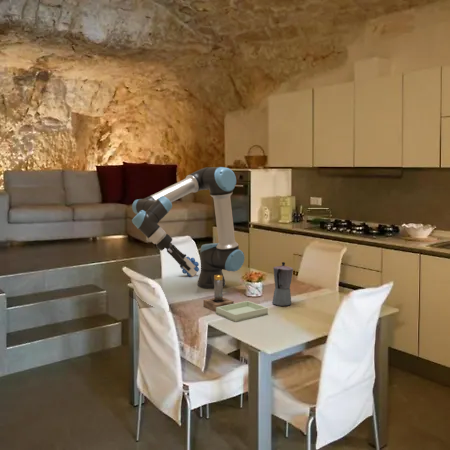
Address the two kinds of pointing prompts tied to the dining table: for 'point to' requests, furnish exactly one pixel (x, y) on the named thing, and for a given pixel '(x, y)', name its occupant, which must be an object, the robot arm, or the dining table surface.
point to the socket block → (212, 305)
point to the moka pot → (282, 285)
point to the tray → (241, 311)
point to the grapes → (194, 268)
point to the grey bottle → (218, 288)
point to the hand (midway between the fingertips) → (194, 271)
